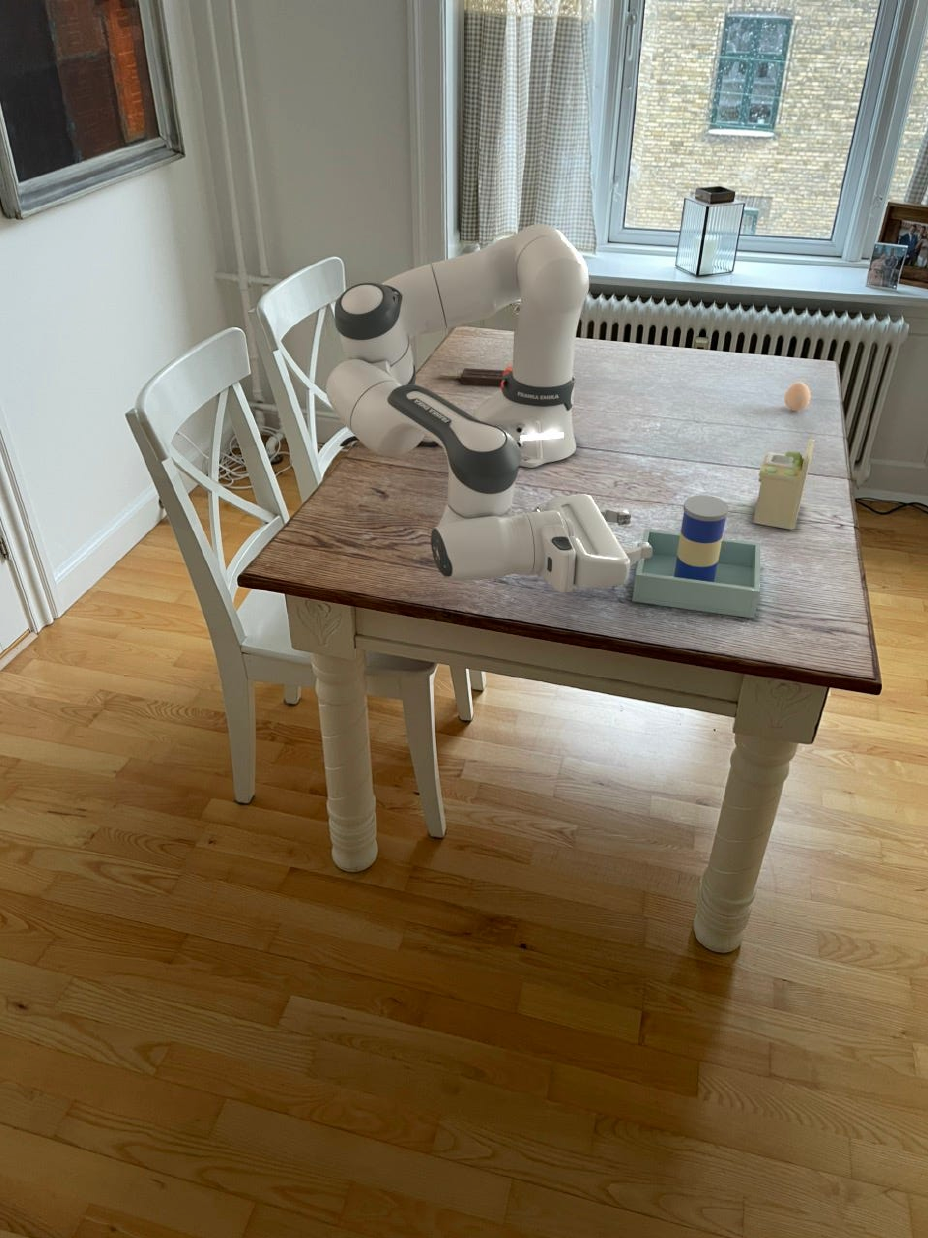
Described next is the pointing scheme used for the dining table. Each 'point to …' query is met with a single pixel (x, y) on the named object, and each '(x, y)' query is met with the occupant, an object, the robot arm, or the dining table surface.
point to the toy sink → (782, 487)
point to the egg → (797, 396)
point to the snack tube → (700, 538)
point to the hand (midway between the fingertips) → (639, 532)
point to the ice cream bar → (478, 376)
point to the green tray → (725, 595)
